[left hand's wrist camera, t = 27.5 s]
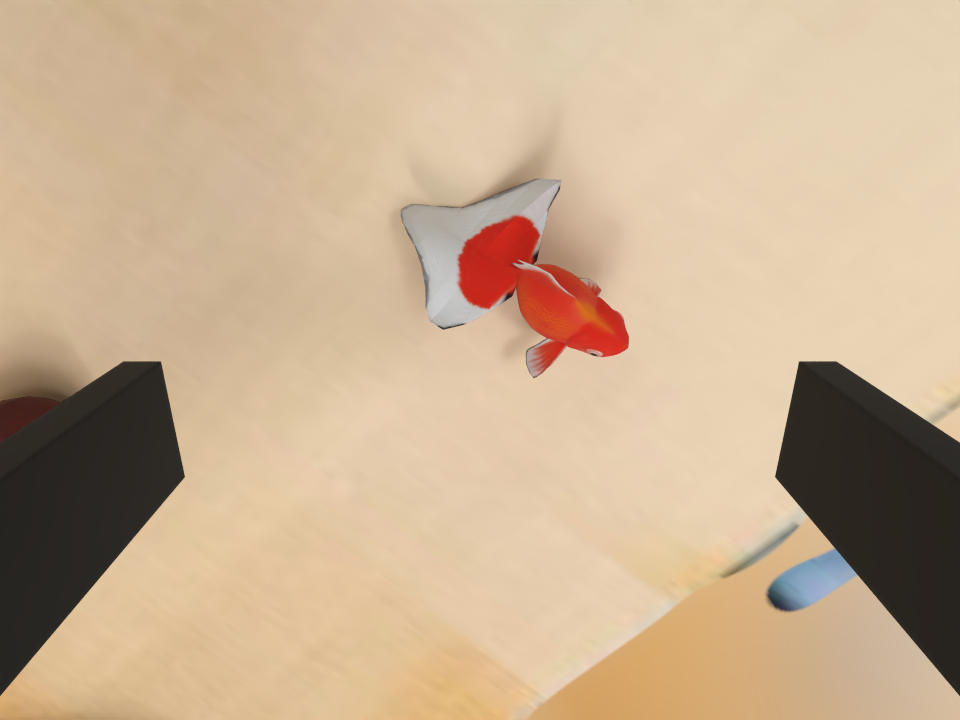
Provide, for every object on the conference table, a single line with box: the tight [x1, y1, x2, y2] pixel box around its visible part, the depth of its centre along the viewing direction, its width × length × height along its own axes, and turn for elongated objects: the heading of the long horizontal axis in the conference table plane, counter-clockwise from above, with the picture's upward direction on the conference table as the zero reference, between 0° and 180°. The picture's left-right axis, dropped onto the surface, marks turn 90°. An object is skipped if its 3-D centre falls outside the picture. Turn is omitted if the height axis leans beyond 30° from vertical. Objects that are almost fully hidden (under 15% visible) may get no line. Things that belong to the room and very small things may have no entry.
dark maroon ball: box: [0, 397, 60, 443], centre depth 42 cm, size 7×8×7 cm
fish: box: [401, 179, 629, 378], centre depth 37 cm, size 11×16×10 cm
